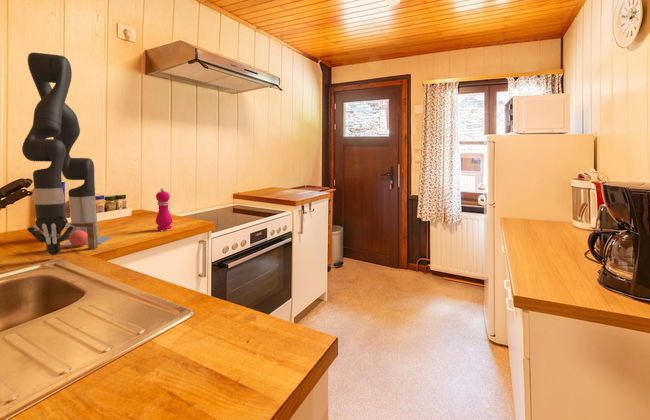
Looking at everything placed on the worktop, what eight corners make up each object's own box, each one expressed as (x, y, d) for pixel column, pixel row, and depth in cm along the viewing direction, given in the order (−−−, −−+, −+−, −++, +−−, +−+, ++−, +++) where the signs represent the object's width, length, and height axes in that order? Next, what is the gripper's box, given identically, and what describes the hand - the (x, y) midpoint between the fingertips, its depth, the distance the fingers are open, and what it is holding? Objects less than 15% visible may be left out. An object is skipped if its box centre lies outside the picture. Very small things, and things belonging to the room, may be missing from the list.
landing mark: (76, 238, 142) (76, 237, 142) (112, 236, 146) (111, 236, 146) (62, 245, 130) (61, 244, 130) (100, 243, 133) (100, 243, 133)
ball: (72, 248, 130) (74, 233, 132) (90, 247, 131) (92, 232, 133) (65, 244, 124) (67, 228, 126) (84, 243, 126) (86, 228, 128)
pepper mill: (166, 231, 158) (164, 188, 155) (152, 230, 160) (150, 188, 157) (176, 228, 165) (174, 187, 162) (162, 228, 167) (160, 187, 164)
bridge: (50, 249, 124) (48, 223, 122) (97, 247, 128) (95, 221, 126) (46, 251, 121) (44, 224, 120) (94, 249, 125) (92, 223, 124)
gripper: (78, 200, 115) (82, 250, 117) (32, 201, 111) (37, 252, 114) (68, 203, 107) (73, 256, 110) (18, 203, 104) (24, 258, 106)
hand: (54, 254), depth 112 cm, fingers closed
